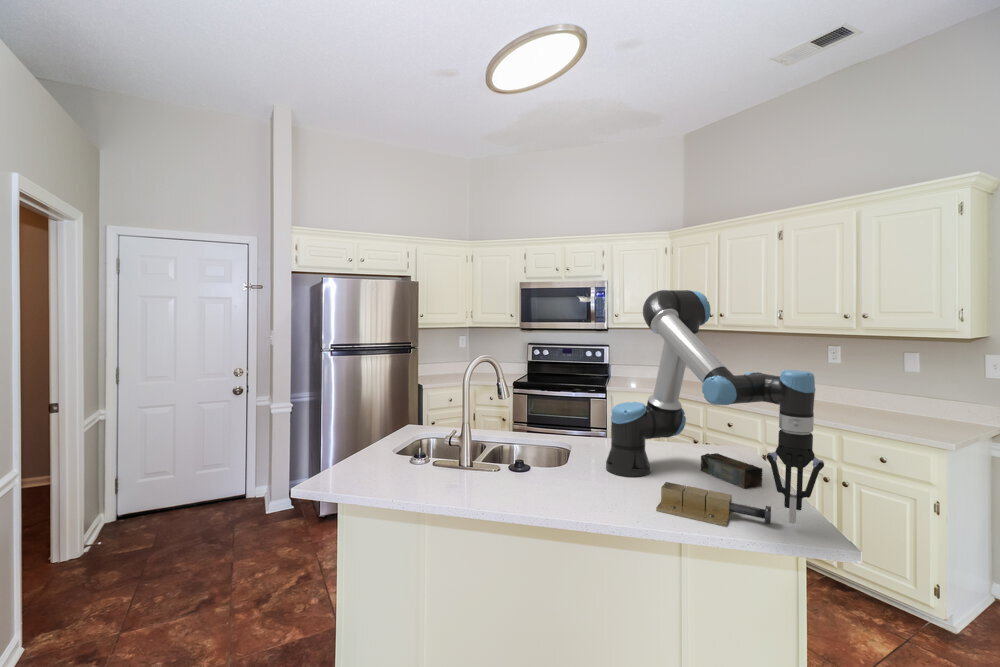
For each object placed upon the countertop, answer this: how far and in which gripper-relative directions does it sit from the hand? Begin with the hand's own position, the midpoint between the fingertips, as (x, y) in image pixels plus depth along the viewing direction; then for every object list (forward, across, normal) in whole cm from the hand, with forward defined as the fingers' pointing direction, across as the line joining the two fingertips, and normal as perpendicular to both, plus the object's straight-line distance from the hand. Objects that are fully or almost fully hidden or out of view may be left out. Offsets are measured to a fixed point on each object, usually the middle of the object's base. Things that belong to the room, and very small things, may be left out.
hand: (792, 520), depth 125 cm
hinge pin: (+2, -15, 0) cm, 15 cm away
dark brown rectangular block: (+3, -19, +33) cm, 38 cm away
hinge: (+2, -24, 0) cm, 24 cm away
